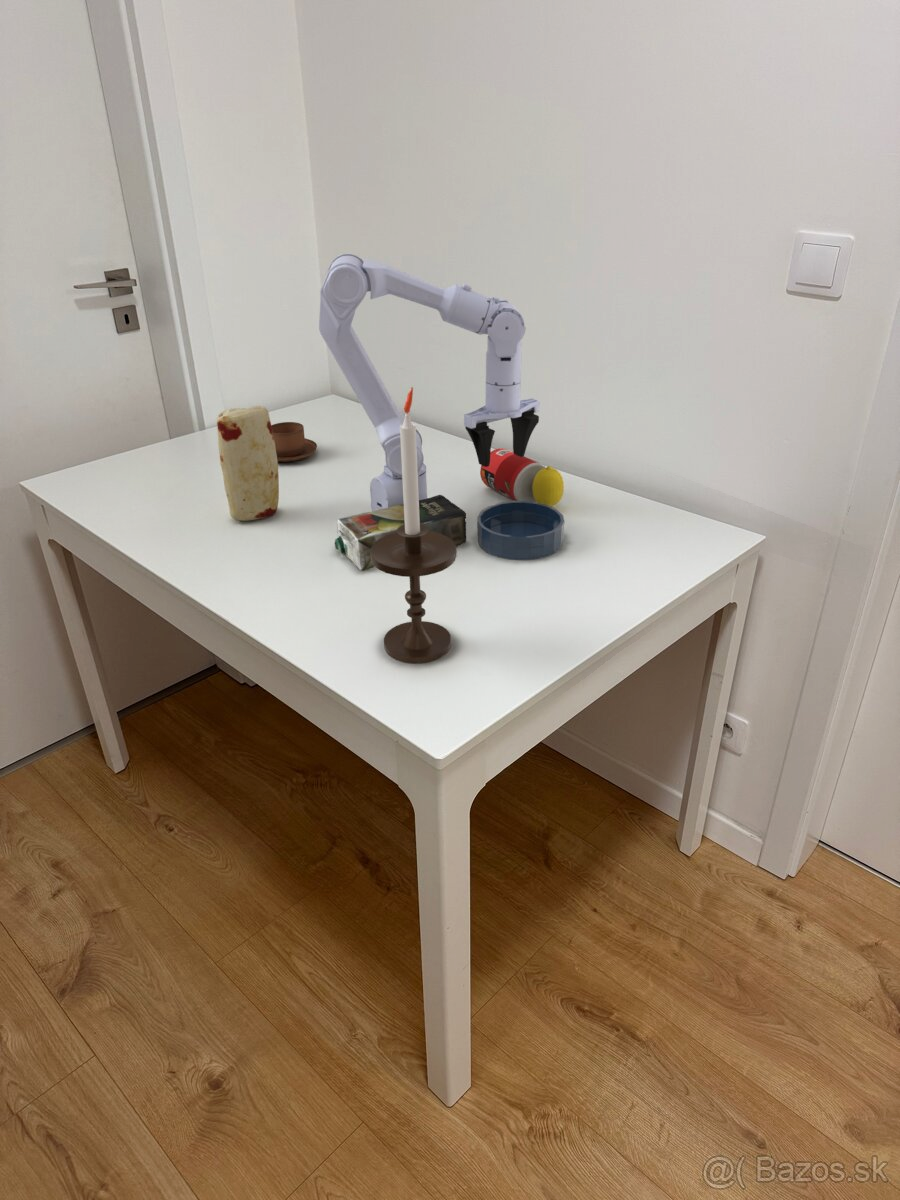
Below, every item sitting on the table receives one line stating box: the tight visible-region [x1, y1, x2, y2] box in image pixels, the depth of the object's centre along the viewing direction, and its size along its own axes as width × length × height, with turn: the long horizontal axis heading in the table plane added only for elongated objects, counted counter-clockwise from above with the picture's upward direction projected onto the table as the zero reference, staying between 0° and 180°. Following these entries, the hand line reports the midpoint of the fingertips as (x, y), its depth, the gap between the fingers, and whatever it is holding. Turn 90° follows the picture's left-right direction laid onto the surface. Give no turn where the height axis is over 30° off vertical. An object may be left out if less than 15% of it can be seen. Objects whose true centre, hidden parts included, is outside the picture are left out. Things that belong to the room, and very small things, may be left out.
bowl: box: [476, 500, 565, 561], centre depth 139 cm, size 14×14×4 cm
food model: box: [216, 405, 280, 522], centre depth 146 cm, size 10×7×20 cm
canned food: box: [479, 448, 547, 502], centre depth 155 cm, size 8×8×11 cm
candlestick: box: [370, 386, 457, 664], centre depth 105 cm, size 11×11×35 cm
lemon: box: [532, 465, 565, 507], centre depth 149 cm, size 6×6×8 cm
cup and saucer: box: [271, 421, 318, 463], centre depth 175 cm, size 12×12×6 cm
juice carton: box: [334, 494, 467, 571], centre depth 137 cm, size 20×10×6 cm, turn 118°
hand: (501, 460), depth 144 cm, fingers open, 7 cm apart
